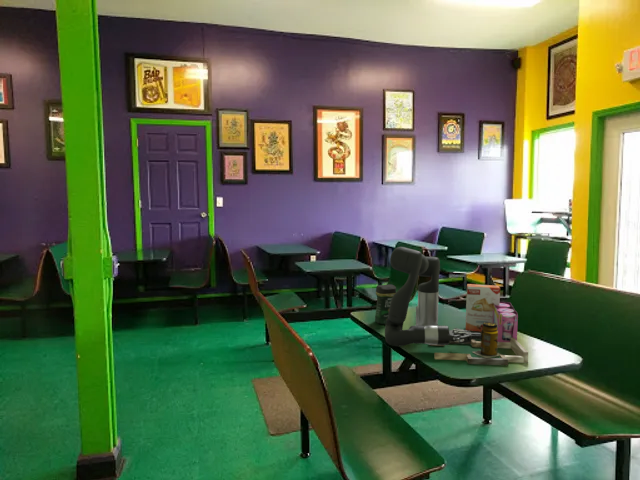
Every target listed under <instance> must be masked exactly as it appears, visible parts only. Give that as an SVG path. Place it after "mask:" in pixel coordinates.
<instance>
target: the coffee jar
mask: <svg viewBox="0 0 640 480" xmlns="http://www.w3.org/2000/svg"><path fill="white" fill-rule="evenodd" d="M396 292H397V287H396V286H395V285H393V284H380V285H379V284H378V285H377V286H376V289H375V296H376V306H375V307H376V308H375V315H374V316H375V317H374V321H375V322H376V323H377V324H380V325H386V322H387V318H388V314H389V308H390V302H391V299H392V297H393V296H394V294H395V293H396Z"/></svg>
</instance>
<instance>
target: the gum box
mask: <svg viewBox="0 0 640 480" xmlns="http://www.w3.org/2000/svg"><path fill="white" fill-rule="evenodd" d="M518 318H519V315H518V312H517V311H516V310H515V308H514V306H513V305H512V303H511V302H510V301H509V302H508V301H500V304H499V305H495V304H494V306H493V323H495V324H497V331H498V342H510V338H515V339H516V340H517V341H518V326H519V325H518V320H519V319H518Z"/></svg>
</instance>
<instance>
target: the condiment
mask: <svg viewBox="0 0 640 480" xmlns="http://www.w3.org/2000/svg"><path fill="white" fill-rule="evenodd" d="M482 328H483V329H482V331H481V332H480V333H481V334H482V339H481V340H480V341H481V347H480V350H476V351H472V353H473V354H475V355H477V356H480V357H481V358H495V357H500V355H503V354H502V353H499V352H498V348H497V346H498V345H497V344H498V331H497V324H495V323H492V322H484V323H483V327H482Z"/></svg>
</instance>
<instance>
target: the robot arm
mask: <svg viewBox="0 0 640 480" xmlns="http://www.w3.org/2000/svg"><path fill="white" fill-rule="evenodd" d="M389 263H390V266H391V268H393V269H394V270H395V271H398V272H402V273H405V274H408V277H407V280H406V282H405V283H404V285H402V286H401V287H400V288H399V289H398V290H396V293H395V294H394V296H393V297H392V299H391V302H390V308H389V314H388V318H387V322H386V324H385V326H384V339H385V342H386V343H387V344H388V345H390V346H393V347H402V346H403V347H404V346H408V345H409V346H410V345H412V344H419V345H421V344H422V345H423V344H424V345H429V346H430V345H445V346H448V345H449V344H450V343H449V341H454V342H459V343H460V344H459V345H464V344H463V343H467V342H471V340H472V339H474V340H475V341H478V340H480V341H481V339H482V334H481V332H472V331H467V330H466V329H462V328H457V327H454V329H453V328H452V329H450V328H449V326H448V325H439V322H438V321H439V289H440V288H439V287H440V286H439V285H440V284H439V283H440V282H439V281H440V271H441V261H440V258H439V257H436V256H425V254H422V252H421V251H418V250H416V249H412V248H409V247H405V246H398V247H396V248H394V250H393V251H392V253H391V254H390V259H389ZM418 277H427V278H428V277H429V278H431V279H430V280H428V281H426V282H422V283H420V284H418V286H417V306H416V307H415V325H410V326H409V328H407V329H403V327H404V322H405V321H406V319H407V316H408V310H409V305H410V301H411V298H412V294H413V292H414V290H415V289H414V288H415V287H416V283H417V280H418Z"/></svg>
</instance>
